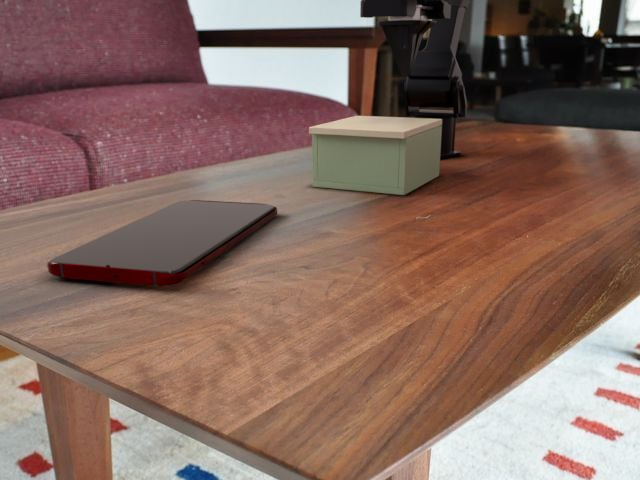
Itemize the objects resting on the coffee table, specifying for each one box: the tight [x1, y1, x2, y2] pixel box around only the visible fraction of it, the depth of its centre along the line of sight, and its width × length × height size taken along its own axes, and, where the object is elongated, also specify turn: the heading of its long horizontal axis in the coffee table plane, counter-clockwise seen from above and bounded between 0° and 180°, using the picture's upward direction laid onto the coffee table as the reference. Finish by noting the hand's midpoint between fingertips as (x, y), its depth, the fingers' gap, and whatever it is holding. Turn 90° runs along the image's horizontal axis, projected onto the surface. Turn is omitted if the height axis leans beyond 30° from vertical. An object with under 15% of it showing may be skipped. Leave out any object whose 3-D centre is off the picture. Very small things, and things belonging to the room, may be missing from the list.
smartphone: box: [46, 199, 278, 287], centre depth 63 cm, size 12×2×25 cm
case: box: [311, 125, 442, 196], centre depth 88 cm, size 14×13×7 cm
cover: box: [308, 115, 442, 139], centre depth 87 cm, size 14×13×1 cm
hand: (406, 75), depth 92 cm, fingers closed
